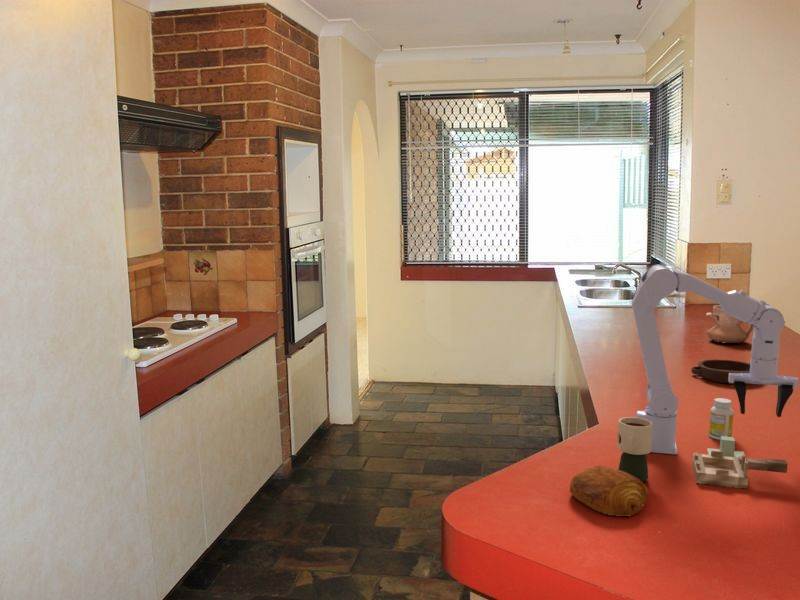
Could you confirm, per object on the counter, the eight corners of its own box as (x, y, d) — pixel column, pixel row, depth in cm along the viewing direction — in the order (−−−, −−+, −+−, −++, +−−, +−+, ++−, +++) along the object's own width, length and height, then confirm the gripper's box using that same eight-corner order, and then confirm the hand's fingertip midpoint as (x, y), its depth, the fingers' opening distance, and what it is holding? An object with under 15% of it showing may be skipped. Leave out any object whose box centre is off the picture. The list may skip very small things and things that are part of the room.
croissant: (603, 534, 144) (607, 497, 142) (556, 492, 158) (560, 458, 155) (663, 519, 149) (668, 483, 147) (613, 480, 163) (617, 447, 161)
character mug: (621, 468, 171) (624, 412, 169) (654, 474, 167) (657, 417, 165) (609, 484, 161) (612, 426, 159) (644, 491, 158) (647, 431, 156)
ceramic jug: (702, 343, 300) (705, 308, 297) (705, 336, 312) (708, 302, 310) (752, 349, 292) (756, 312, 289) (753, 341, 305) (756, 306, 302)
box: (696, 483, 162) (697, 459, 161) (692, 463, 173) (693, 440, 172) (747, 489, 159) (749, 464, 158) (739, 468, 170) (741, 445, 169)
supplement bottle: (715, 441, 188) (717, 403, 187) (704, 433, 194) (707, 397, 192) (736, 440, 189) (738, 403, 187) (724, 433, 194) (727, 396, 193)
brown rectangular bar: (747, 469, 160) (747, 460, 160) (745, 465, 162) (746, 456, 162) (786, 473, 158) (787, 463, 158) (784, 469, 160) (785, 460, 160)
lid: (710, 467, 173) (712, 447, 172) (706, 451, 183) (708, 432, 182) (749, 471, 170) (750, 450, 169) (743, 455, 180) (744, 435, 180)
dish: (766, 390, 234) (767, 374, 234) (689, 383, 243) (690, 367, 242) (763, 376, 250) (764, 362, 250) (691, 370, 259) (692, 356, 258)
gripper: (732, 359, 173) (728, 416, 176) (803, 363, 169) (798, 422, 171) (729, 352, 180) (725, 407, 182) (796, 356, 176) (792, 413, 178)
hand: (760, 414), depth 177 cm, fingers open, 7 cm apart
